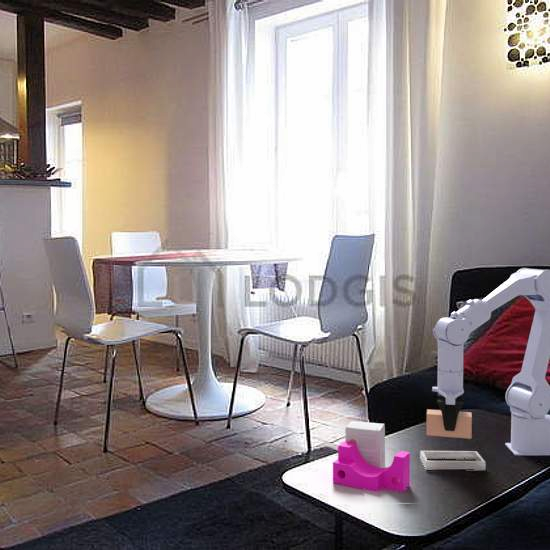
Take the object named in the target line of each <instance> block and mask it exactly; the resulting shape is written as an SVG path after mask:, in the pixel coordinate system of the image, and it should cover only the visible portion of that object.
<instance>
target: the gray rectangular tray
mask: <svg viewBox="0 0 550 550" xmlns="http://www.w3.org/2000/svg"><path fill="white" fill-rule="evenodd" d="M438 458H439V459H442V458H443V459H444V458H445V459H456V460H427V459H438ZM464 458H465V459H464ZM420 459H421V460H420ZM419 460H420V462H421V461H422V462H421V464H422V463H423V464H422V466H423V465H424V466H423V468H424V467H425V468H424V470H425V469H426V470H433V469H434V470H435V469H474V470H473V471H486V461H485V459H483V457H482V456H481V454H479V452H478V451H475V450H473V451H472V450H420V451H419ZM426 470H425V471H426Z"/></svg>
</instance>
